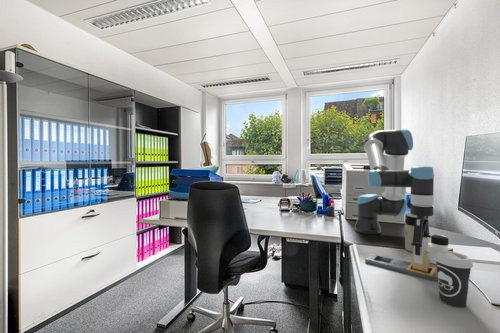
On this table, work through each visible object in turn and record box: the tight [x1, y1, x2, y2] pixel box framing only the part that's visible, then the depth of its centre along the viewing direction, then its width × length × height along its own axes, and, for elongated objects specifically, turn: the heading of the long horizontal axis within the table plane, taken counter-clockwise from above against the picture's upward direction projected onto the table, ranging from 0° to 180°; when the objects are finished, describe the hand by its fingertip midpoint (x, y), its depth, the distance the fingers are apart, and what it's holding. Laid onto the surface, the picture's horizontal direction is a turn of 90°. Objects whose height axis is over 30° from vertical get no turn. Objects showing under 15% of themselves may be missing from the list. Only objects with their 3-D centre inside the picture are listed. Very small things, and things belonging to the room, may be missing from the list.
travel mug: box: [404, 212, 418, 253], centre depth 123 cm, size 8×8×18 cm
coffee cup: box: [434, 251, 474, 308], centre depth 79 cm, size 10×10×15 cm
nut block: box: [412, 251, 431, 274], centre depth 99 cm, size 5×5×8 cm
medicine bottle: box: [428, 234, 454, 266], centre depth 108 cm, size 7×7×12 cm
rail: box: [364, 252, 438, 283], centre depth 103 cm, size 9×26×2 cm, turn 46°
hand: (421, 257), depth 98 cm, fingers open, 13 cm apart
